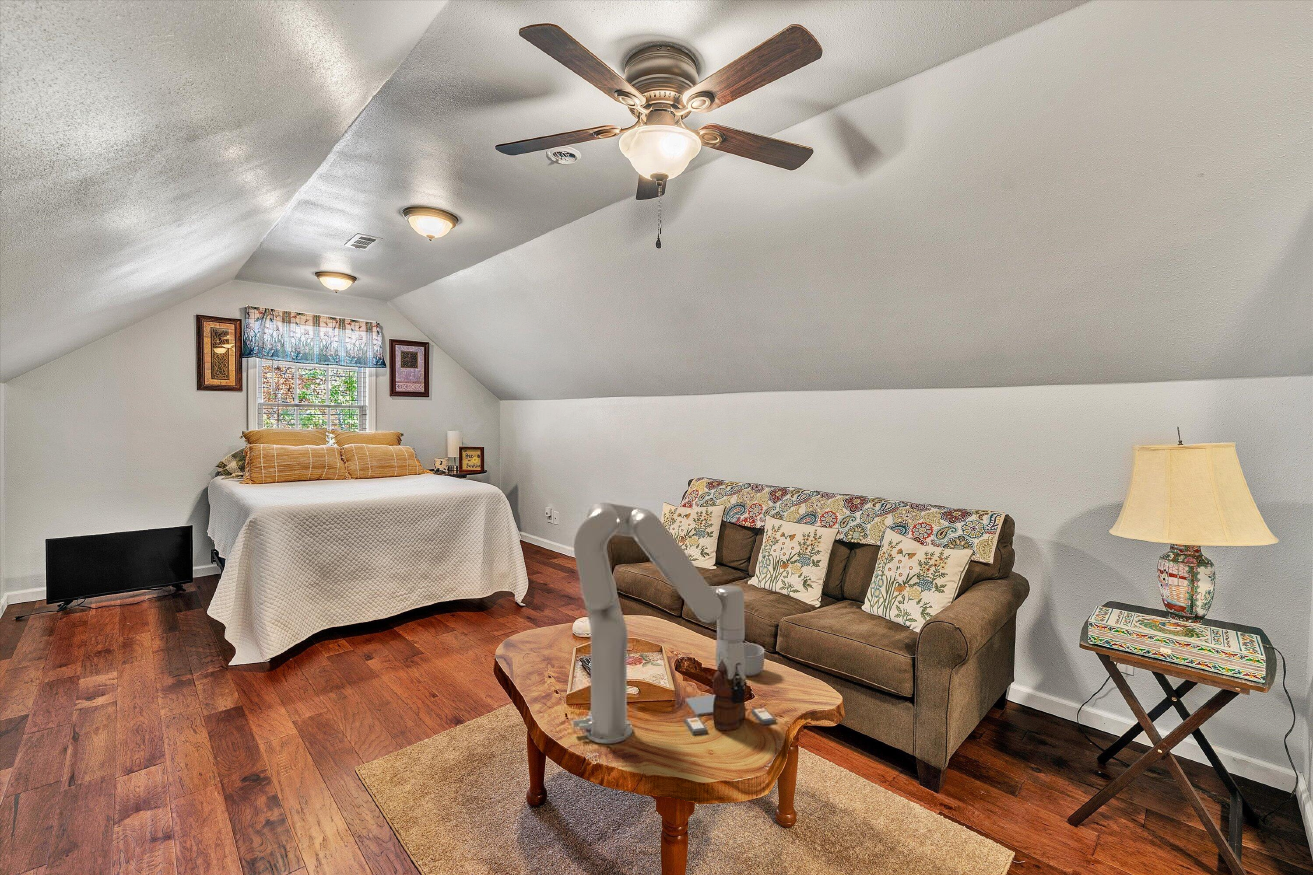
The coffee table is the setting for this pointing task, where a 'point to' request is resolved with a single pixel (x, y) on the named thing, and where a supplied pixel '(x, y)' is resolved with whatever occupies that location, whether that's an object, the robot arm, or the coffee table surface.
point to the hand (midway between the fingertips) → (731, 694)
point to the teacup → (753, 658)
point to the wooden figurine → (726, 701)
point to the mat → (702, 704)
